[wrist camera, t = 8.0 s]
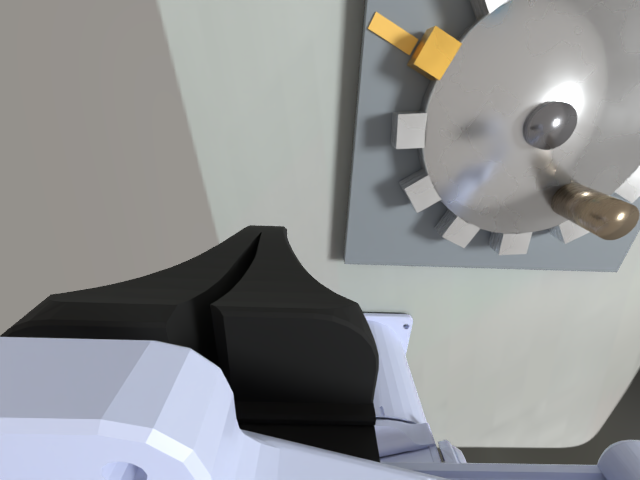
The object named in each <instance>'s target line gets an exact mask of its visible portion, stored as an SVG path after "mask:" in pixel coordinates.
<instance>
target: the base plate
mask: <svg viewBox="0 0 640 480" xmlns="http://www.w3.org/2000/svg"><path fill="white" fill-rule="evenodd" d="M475 20H476V17H475V14H474V11H473V9H472V6H471V3H470V0H365V10H364V22H363V34H362V45H361V57H360V69H359V81H358V93H357V105H356V117H355V128H354V140H353V152H352V164H351V176H350V188H349V200H348V211H347V223H346V235H345V247H344V262H345V264H366V265H399V266H432V267H464V268H497V269H530V270H563V271H595V272H617V271H618V269H619V267H620V266H621V264H622V262H623V260H624V258H625V256H626V254H627V253H628V251H629V249H630V247H631V245H632V243H633V241H634V240H635V238H636V236H637V234H638V232H639V230H640V215H639V220H638V222H637V224H636V226H635V227H634V228H633V229H632V231H630V232H629V233H628V234H627V235H625V236H623V237H621V238H619V239H616V240H604V239H602V238H600V237H598V236H596V235H595V234H593V233H591V232H589V233H587V234H585V235H583V236H581V237H579V238H577V239H575V240H572V241H570V242H568V243H566V244H565V243H563V242H561V241H560V240H558V239H557V238H555V237H554V236H552V235H551V234H550V231H549V229H545V230H541V231H536V232H532V236H531V239H530V243H529V246H528V250H527V254H515V255H498V254H497V253H496V252H495V251H494V250H493V249H492V248H491V247H489V246H488V244H489V239H490V235H491V231H487V230H483V229H480V230H479V231H478V232H477V233H476V235H475V236H474V237H473V238H472V239H471V241H470V242H469V243H468V244H467V246H466V247H465V248H463V247H461V246H459V245H457V244H455V243H453V242H451V241H449V240H447V239H445V238H443V237H441V235H440V234H439V233H438V232H437V230H436V229H435V226H436V225H437V224H438V222H439V221H440V220H441V218H442V217H443V216H444V214H445V213H446V211H447V210H448V208H447V207H446V206H445V205H444V204H443V203H442V202H441V201H438V202H436V203H435V204H433V205H431V206H429V207H427V208H425V209H424V210H422V211H420V212H418V213H417V212H416V211H415V209H414V208H413V207H412V205H411V204H410V202H409V200H408V198H407V196H406V195H405V193H404V191H403V189H402V187H401V185H400V183H399V182H400V181H402V180H404V179H405V178H407V177H409V176H410V175H412V174H414V173H415V172H417V171H419V170H421V169H422V168H421V164H420V160H419V155H418V148H410V149H395V148H394V147H393V146H392V145H391V133H392V114H393V112H407V111H420V110H421V106H422V102H423V99H424V95H425V93H426V90H427V88H428V85H429V83H430V80H429V79H428V78H426V77H425V76H423V75H421V74H420V73H418V72H417V71H415V70H413V69H412V68H410V67H409V66H407V64H408V62H409V60H410V58H411V57H412V55H413V53H414V51H415V49H416V48H417V46H418V44H419V42H420V41H421V39H422V37H423V35H424V33H425V32H426V30H427V29H429V28H431V27H433V26H437V27H439V28H440V29H442V30H443V31H444V32H446V33H447V34H449V35H450V36H452V37H453V38H455V39H457V38H458V37H459V36H460V35H461V34H462V32H463V31H464V30H465V29H466V28H468V27H469V26H470V25H471V24H472V23H473V22H474V21H475ZM610 196H612V197H614V198H617V197H615V196H613V195H610ZM617 199H620V198H617ZM620 200H622V201H625V200H623V199H620ZM625 202H627V203H630V202H628V201H625ZM630 204H632V205H634V206H636V207H637V208H638V210H639V214H640V196H639V197H638V198H637V199H636V200H635V201H634V202H633V203H630Z"/></svg>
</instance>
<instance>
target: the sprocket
mask: <svg viewBox="0 0 640 480" xmlns="http://www.w3.org/2000/svg"><path fill="white" fill-rule="evenodd" d="M470 3H471V6H472V9H473V11H474V14H475V17H476V20H475V21H474V22H473V23H472V24H471V25H470V26H469V27H468V28H466V29H465V30H464V31H463V32H462V34H461V35H460V36H459V37H458V38H457V39H455V38H453V37H452V36H450V35H449V34H447V33H446V32H444V31H443V30H442V29H440V28H439V27H437V26H433V27H431V28H429V29H427V30H426V32H425V33H424V35H423V37H422V39H421V41H420V42H419V44H418V46H417V48H416V49H415V51H414V53H413V55H412V57H411V58H410V60H409V62H408V64H407V66H409V67H410V68H412V69H413V70H415V71H417V72H418V73H420V74H421V75H423V76H425V77H426V78H428V79H429V80H430V83H429V85H428V88H427V90H426V93H425V95H424V99H423V102H422V106H421V110H420V111H407V112H393V114H392V133H391V145H392V146H393V147H394V148H395V149H410V148H418V155H419V160H420V164H421V168H422V169H421V170H419V171H417V172H415V173H414V174H412V175H410V176H409V177H407V178H405V179H404V180H402V181H400V182H399V183H400V185H401V187H402V189H403V191H404V193H405V195H406V196H407V198H408V200H409V202H410V204H411V205H412V207H413V208H414V209H415V211H416V212H417V213H418V212H420V211H422V210H424V209H425V208H427V207H429V206H431V205H433V204H435V203H436V202H438V201H441V202H442V203H443V204H444V205H445V206H446V207H447V208H448V210H447V211H446V213H445V214H444V216H443V217H442V218H441V220H440V221H439V222H438V224H437V225H436V226H435V229H436V230H437V232H438V233H439V234H440V235H441V237H443V238H445V239H447V240H449V241H451V242H453V243H455V244H457V245H459V246H461V247H463V248H465V247H466V246H467V244H468V243H469V242H470V241H471V239H472V238H473V237H474V236H475V235H476V233H477V232H478V231H479V230H480V229H483V230H487V231H491V235H490V239H489V244H488V246H489V247H491V248H492V249H493V250H494V251H495V252H496V253H497V254H498V255H515V254H527V250H528V246H529V243H530V239H531V236H532V232H536V231H541V230H545V229H549V231H550V234H551V235H552V236H554V237H555V238H557V239H558V240H560V241H561V242H563V243H565V244H566V243H568V242H570V241H572V240H575V239H577V238H579V237H581V236H583V235H585V234H587V233H589V232H591V233H593V234H595V235H596V236H598V237H600V238H602V239H604V240H616V239H619V238H621V237H623V236H625V235H627V234H628V233H629V232H630V231H632V229H633V228H634V227H635V226H636V224H637V222H638V220H639V215H640V214H639V210H638V208H637V207H636V206H634V205H632V204H630V203H633V202H634V201H635V200H636V199H637V198H638V197H639V196H640V0H470ZM610 195H613V196H615V197H617V198H620V199H623V200H625V201H628V202H630V203H627V202H625V201H622V200H620V199H617V198H614V197H612V196H610Z"/></svg>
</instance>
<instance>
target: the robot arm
mask: <svg viewBox="0 0 640 480" xmlns="http://www.w3.org/2000/svg"><path fill="white" fill-rule="evenodd" d="M405 324H407V325H406V326H403V325H405ZM412 324H413V319H412V317H411V315H408V314H380V313H363V312H362V310H361V308H360V306H359V305H358V303H356V302H354V301H352V300H349V299H347V298H345V297H343V296H340V295H338V294H336V293H334V292H333V291H331V290H330V289H328V288H326V287H325V286H323V285H322V284H320V283H319V282H318V281H317V280H315V279H314V278H313V277H312V276H311V275H310V274H309V273H308V272H307V271H306V270H305V268H304V267H303V266H302V265H301V263H300V262H299V260H298V259H297V257H296V256H295V254H294V252H293V250H292V248H291V246H290V244H289V242H288V239H287V229H286V228H285V227H281V226H251V225H250V226H248V227H246V228H244V229H242V230H241V231H239V232H238V233H236V234H235V235H233V236H231V237H230V238H228V239H227V240H225V241H224V242H222V243H220V244H219V245H217V246H215V247H213V248H212V249H210V250H208V251H206V252H204V253H202V254H201V255H199V256H197V257H195V258H192V259H190V260H188V261H186V262H183V263H181V264H178V265H176V266H173V267H171V268H168V269H165V270H162V271H159V272H156V273H153V274H150V275H147V276H143V277H140V278H136V279H132V280H129V281H124V282H120V283H116V284H112V285H107V286H102V287H97V288H92V289H85V290H79V291H73V292H67V293H61V294H53V295H50V296H49V297H47V298H46V299H45V300H44V301H42V302H41V303H40V304H39V305H38V306H36V307H35V308H34V309H33V310H31V311H30V312H29V313H28V314H27V315H26V316H24V317H23V318H22V319H20V320H19V321H18V322H17V323H15V324H14V325H13V326H12V327H11V328H9V329H8V330H7V331H6V332H4V333H3V334H2V335H1V336H0V480H640V440H624V441H619V442H616V443H614V444H611V445H610V446H609V447H608V448H607V449H605V451H604V452H603V453H602V455H601V457H600V459H599V461H598V464H597V465H561V464H493V463H492V464H490V463H467V462H466V460H465V458H464V456H463V454H462V452H461V451H460V450H459V449H458V448H456V447H455V446H454V445H451V444H450V442H449V441H448V440H443V441H439V442H438V444H439V447H440V450H441V454H442V457H443V460H444V462H443V463H442V462H441V459H440V456H439V453H438V451H437V447H436V444H435V441H434V438H433V435H432V432H431V429H430V426H429V424H428V423H427V421H426V418H425V415H424V412H423V409H422V406H421V403H420V399H419V396H418V393H417V390H416V387H415V384H414V381H413V378H412V375H411V372H410V368H409V365H408V362H407V359H406V351H407V347H408V342H409V338H410V333H411V328H412Z"/></svg>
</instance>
